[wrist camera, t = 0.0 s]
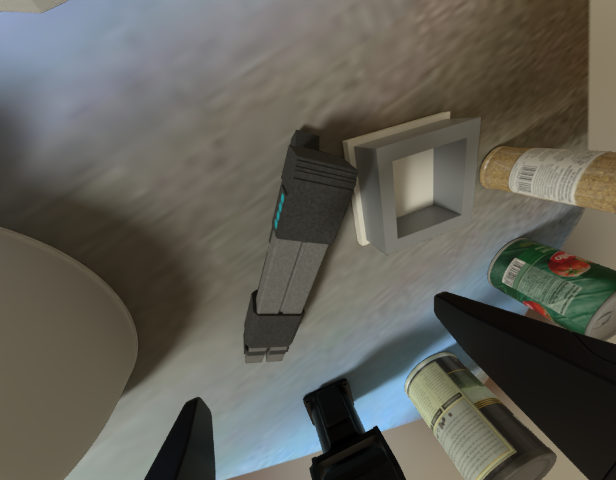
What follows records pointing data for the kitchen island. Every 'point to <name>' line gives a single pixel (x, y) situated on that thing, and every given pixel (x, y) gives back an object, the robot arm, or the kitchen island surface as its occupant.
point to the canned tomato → (558, 286)
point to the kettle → (56, 358)
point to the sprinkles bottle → (554, 175)
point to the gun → (296, 244)
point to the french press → (29, 5)
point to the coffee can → (475, 423)
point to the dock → (414, 180)
